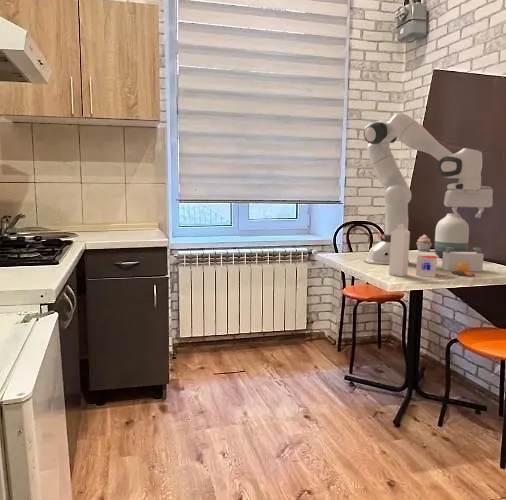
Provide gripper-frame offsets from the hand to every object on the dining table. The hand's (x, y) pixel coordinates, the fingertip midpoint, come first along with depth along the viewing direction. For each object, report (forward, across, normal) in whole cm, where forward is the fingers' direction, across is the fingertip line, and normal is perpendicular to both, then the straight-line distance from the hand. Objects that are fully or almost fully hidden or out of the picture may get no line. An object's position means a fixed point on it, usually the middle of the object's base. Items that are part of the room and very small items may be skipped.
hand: (467, 217), depth 216 cm
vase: (+25, -17, -52) cm, 60 cm away
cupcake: (+25, -13, -80) cm, 85 cm away
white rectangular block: (+25, -5, -12) cm, 28 cm away
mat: (+25, 0, 0) cm, 25 cm away
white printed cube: (+25, +17, +1) cm, 31 cm away
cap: (+24, 0, 0) cm, 25 cm away
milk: (+25, +30, +3) cm, 39 cm away
